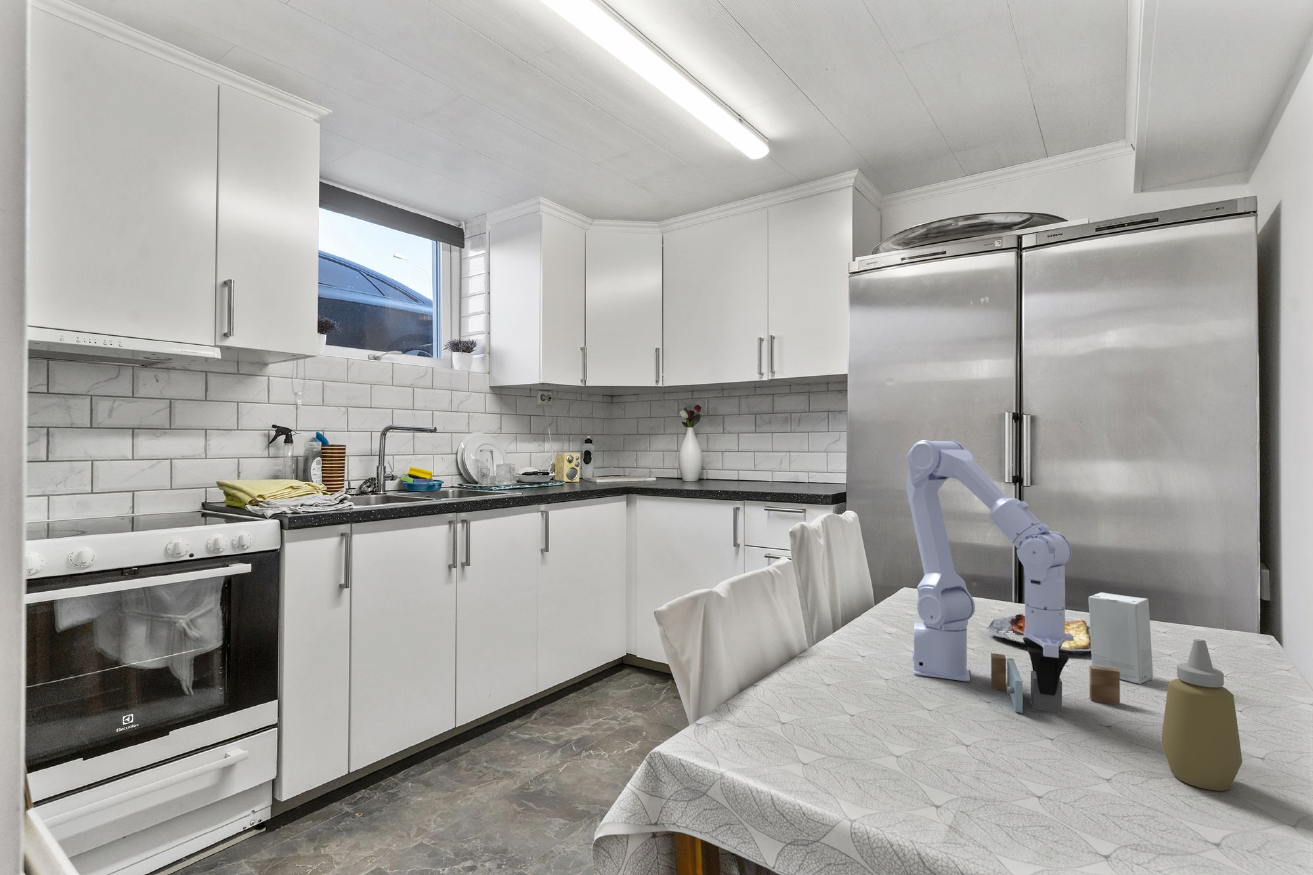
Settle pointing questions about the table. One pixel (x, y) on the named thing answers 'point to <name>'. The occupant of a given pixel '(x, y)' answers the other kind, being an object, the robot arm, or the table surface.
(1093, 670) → the door frame
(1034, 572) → the robot arm
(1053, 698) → the block
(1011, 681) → the door
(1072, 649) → the food plate
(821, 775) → the table surface
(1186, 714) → the squeeze bottle
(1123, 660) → the skincare box
